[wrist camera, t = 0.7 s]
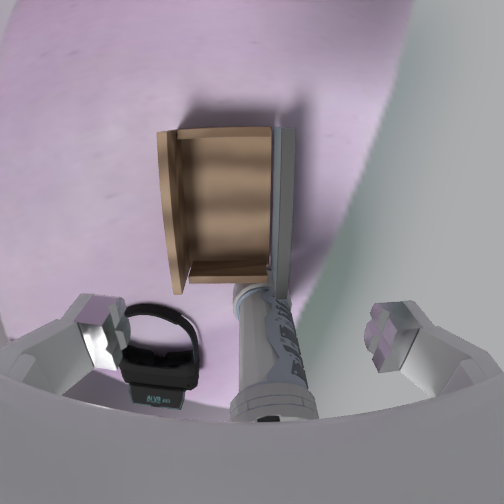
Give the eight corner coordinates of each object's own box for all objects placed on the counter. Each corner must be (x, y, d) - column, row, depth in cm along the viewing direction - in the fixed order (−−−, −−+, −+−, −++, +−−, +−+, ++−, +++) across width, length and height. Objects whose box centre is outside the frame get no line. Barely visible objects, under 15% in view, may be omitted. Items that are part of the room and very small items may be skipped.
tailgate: (273, 126, 38) (282, 128, 29) (283, 127, 38) (295, 128, 29) (270, 266, 47) (276, 299, 39) (279, 266, 47) (287, 299, 39)
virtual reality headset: (129, 374, 62) (117, 401, 52) (113, 295, 56) (93, 317, 46) (203, 382, 63) (198, 411, 53) (197, 300, 56) (189, 326, 47)
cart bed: (176, 129, 40) (156, 132, 30) (269, 126, 40) (278, 128, 31) (186, 259, 50) (173, 294, 40) (267, 258, 50) (273, 293, 40)
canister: (283, 263, 51) (320, 411, 24) (291, 307, 55) (323, 449, 28) (227, 274, 51) (217, 427, 24) (240, 317, 55) (241, 461, 28)
